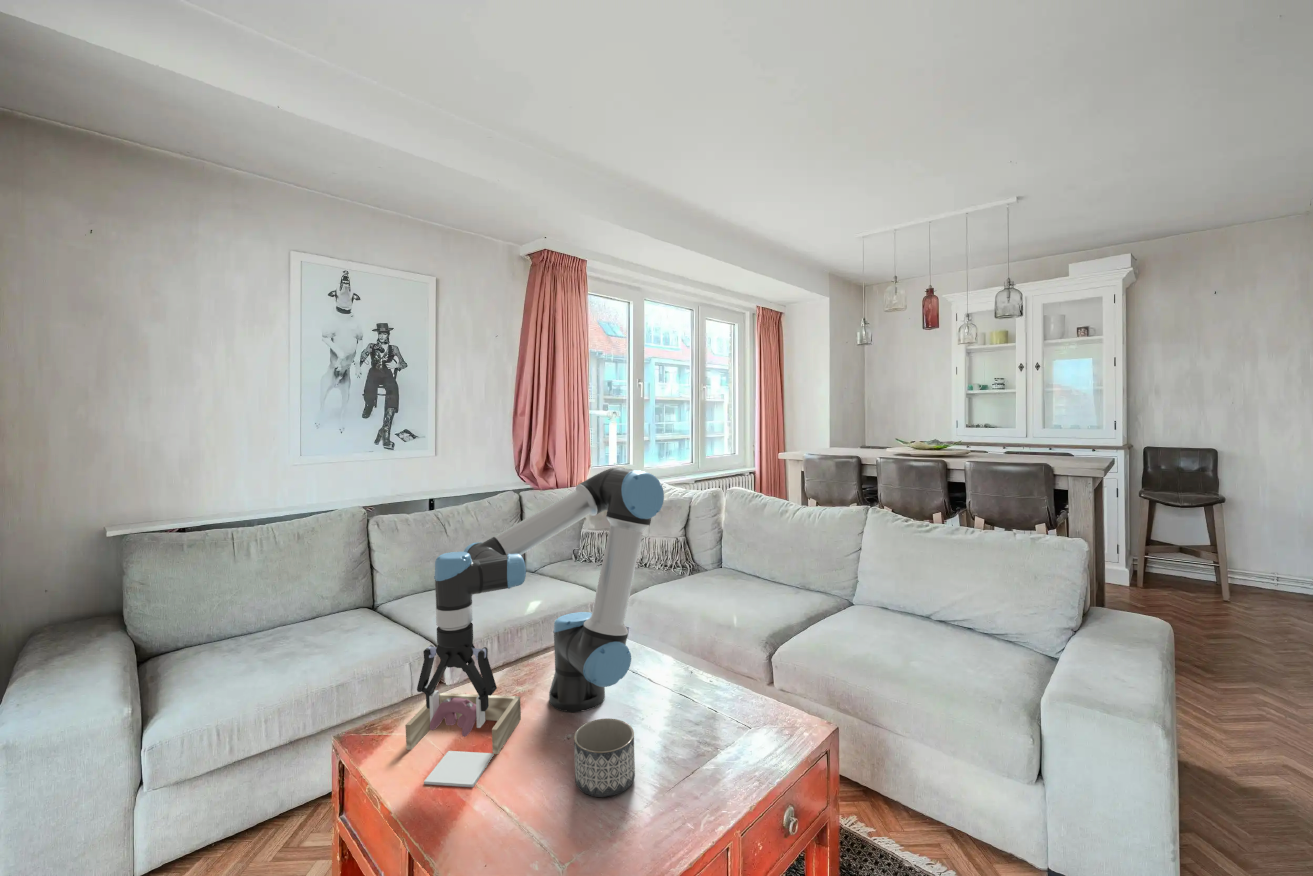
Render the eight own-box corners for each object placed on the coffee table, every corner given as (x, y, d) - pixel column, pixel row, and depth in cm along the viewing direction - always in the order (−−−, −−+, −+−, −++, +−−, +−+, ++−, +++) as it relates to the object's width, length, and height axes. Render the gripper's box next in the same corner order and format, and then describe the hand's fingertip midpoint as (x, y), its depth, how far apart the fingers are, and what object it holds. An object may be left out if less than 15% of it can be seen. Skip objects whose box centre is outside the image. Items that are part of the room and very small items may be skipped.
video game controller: (476, 736, 126) (484, 701, 128) (464, 737, 122) (473, 701, 124) (439, 729, 129) (447, 694, 131) (426, 729, 125) (435, 694, 127)
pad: (493, 755, 133) (493, 753, 133) (473, 787, 122) (473, 784, 122) (448, 753, 134) (448, 750, 134) (424, 784, 123) (423, 781, 123)
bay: (520, 719, 148) (520, 696, 148) (497, 754, 133) (496, 729, 133) (438, 715, 151) (437, 692, 151) (406, 749, 136) (405, 724, 136)
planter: (611, 810, 115) (610, 759, 114) (562, 788, 121) (561, 740, 121) (646, 775, 125) (645, 728, 125) (599, 757, 132) (598, 712, 131)
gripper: (510, 619, 129) (513, 716, 130) (415, 616, 131) (418, 711, 133) (497, 632, 121) (500, 735, 122) (396, 629, 124) (400, 729, 125)
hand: (457, 723), depth 128 cm, fingers closed on video game controller, 10 cm apart
